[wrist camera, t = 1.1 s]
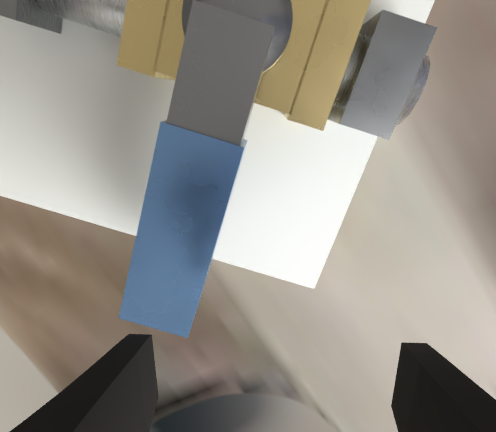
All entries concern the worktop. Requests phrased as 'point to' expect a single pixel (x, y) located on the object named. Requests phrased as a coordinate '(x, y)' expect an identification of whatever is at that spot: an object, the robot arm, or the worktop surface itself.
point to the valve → (290, 63)
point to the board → (144, 140)
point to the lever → (200, 155)
